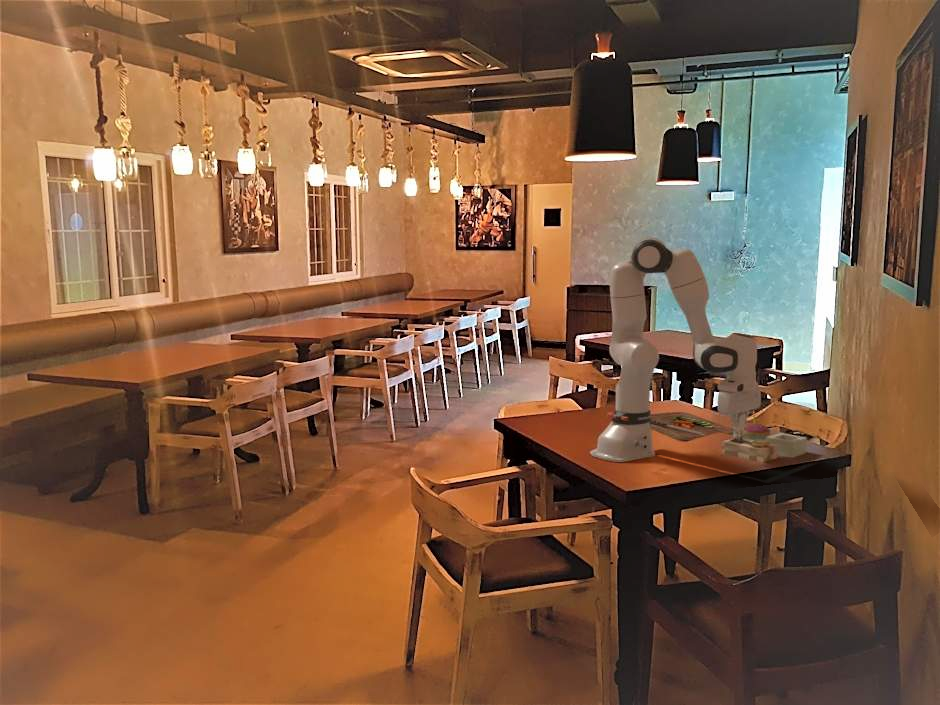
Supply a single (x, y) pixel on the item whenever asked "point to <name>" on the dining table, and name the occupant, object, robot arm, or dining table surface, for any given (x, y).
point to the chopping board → (685, 426)
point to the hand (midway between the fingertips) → (738, 424)
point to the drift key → (760, 443)
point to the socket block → (750, 450)
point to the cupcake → (756, 430)
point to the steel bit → (739, 429)
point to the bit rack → (789, 444)
